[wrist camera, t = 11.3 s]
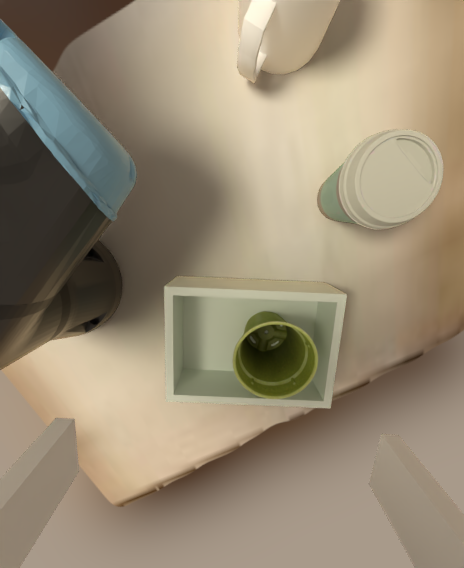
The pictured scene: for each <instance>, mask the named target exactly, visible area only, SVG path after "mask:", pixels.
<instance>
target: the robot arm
mask: <svg viewBox="0 0 464 568" xmlns="http://www.w3.org/2000/svg"><path fill="white" fill-rule="evenodd" d="M136 178H137V171H136V167H135V164H134V161H133V159H132V157H131V156H130V155H129V153H128V152H127V151H126V150H125V149H124V148H123V146H122V145H121V144H120V143H119V142H118V141H117V140H116V139H115V138H114V137H113V135H112V134H111V133H110V132H109V131H108V130H107V129H106V128H105V127H104V126H103V125H102V124H101V123H100V122H99V120H98V119H97V118H96V117H95V116H94V115H93V114H92V113H91V112H90V111H89V110H88V109H87V108H86V107H85V106H84V105H83V104H82V102H81V101H80V100H79V99H78V98H77V97H76V96H75V95H74V94H73V93H72V92H71V91H70V90H69V89H68V88H67V87H66V86H65V85H64V84H63V83H62V82H61V80H60V79H59V78H58V77H57V76H56V75H55V74H54V73H53V72H52V71H51V70H50V69H49V68H48V67H47V66H46V65H45V64H44V63H43V62H42V61H41V60H40V59H39V58H38V57H37V56H36V55H35V54H34V53H33V51H32V50H31V49H30V48H29V47H28V46H27V45H26V44H25V43H24V42H23V41H22V40H20V39H19V37H17V35H16V34H15V33H14V32H13V31H12V30H11V29H10V28H9V27H8V26H7V25H6V24H5V23H4V22H3V21H2V20H1V19H0V370H1V369H3V368H5V367H6V366H8V365H10V364H11V363H13V362H15V361H16V360H18V359H20V358H22V357H23V356H25V355H27V354H28V353H30V352H32V351H33V350H35V349H37V348H38V347H40V346H42V345H43V344H45V343H47V342H48V341H50V340H56V339H62V338H68V337H74V336H79V335H82V334H85V333H88V332H90V331H92V330H94V329H95V328H97V327H98V326H100V325H101V324H103V323H104V322H105V321H107V320H108V319H109V318H110V317H111V316H112V315H113V313H114V312H115V310H116V309H117V307H118V304H119V302H120V298H121V293H122V280H121V274H120V271H119V268H118V265H117V263H116V261H115V259H114V258H113V256H112V255H111V253H110V252H109V251H108V249H107V248H106V247H105V246H104V245H103V244H102V243H101V242H99V241H98V239H99V238H100V236H101V235H102V234H103V232H104V231H105V230H106V228H107V227H108V226H109V224H110V223H111V221H115V220H116V219H117V212H118V210H119V209H120V207H121V206H122V204H123V203H124V201H125V199H126V198H127V196H128V195H129V193H130V192H131V190H132V189H133V187H134V185H135V183H136ZM78 472H79V465H78V454H77V442H76V430H75V419H68V418H55V419H54V421H53V422H52V423H51V424H50V425H49V426H48V427H47V428H46V429H45V430H44V431H43V433H42V434H41V435H40V436H39V437H38V438H37V439H36V440H35V441H34V443H33V444H32V445H31V446H30V447H29V448H28V449H27V450H26V451H25V452H24V453H23V455H22V456H21V457H20V458H19V459H18V460H17V461H16V462H15V463H14V464H13V465H12V467H11V468H10V469H9V470H8V471H7V472H6V473H5V474H4V475H3V476H2V478H1V479H0V568H20V566H21V565H22V563H23V562H24V560H25V558H26V557H27V555H28V553H29V552H30V550H31V548H32V547H33V545H34V544H35V542H36V540H37V539H38V537H39V536H40V534H41V532H42V531H43V529H44V527H45V526H46V524H47V523H48V521H49V519H50V518H51V516H52V514H53V513H54V511H55V510H56V508H57V506H58V504H59V503H60V502H61V500H62V498H63V497H64V495H65V493H66V492H67V490H68V489H69V487H70V485H71V484H72V482H73V480H74V479H75V477H76V476H77V474H78ZM369 485H370V487H371V489H372V491H373V493H374V494H375V496H376V498H377V500H378V502H379V503H380V505H381V507H382V509H383V511H384V513H385V514H386V516H387V518H388V520H389V522H390V524H391V525H392V527H393V529H394V531H395V533H396V534H397V536H398V538H399V540H400V541H401V544H402V545H403V547H404V549H405V551H406V553H407V555H408V556H409V558H410V560H411V562H412V564H413V565H414V567H415V568H464V514H463V513H462V511H461V510H460V509H459V508H458V507H457V505H456V504H455V503H454V502H453V500H452V499H451V498H450V497H449V496H448V494H447V493H446V492H445V491H444V490H443V488H442V487H441V486H440V485H439V483H438V482H437V481H436V480H435V479H434V477H433V476H432V475H431V474H430V473H429V471H428V470H427V469H426V468H425V466H424V465H423V464H422V463H421V462H420V461H419V459H418V458H417V457H416V456H415V454H414V453H413V452H412V451H411V450H410V448H409V447H408V446H407V445H406V443H405V442H404V441H403V440H402V439H401V437H400V436H399V435H389V434H381V438H380V442H379V446H378V450H377V454H376V458H375V462H374V466H373V470H372V474H371V478H370V482H369Z"/></svg>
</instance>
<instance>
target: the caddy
mask: <svg viewBox="0 0 464 568" xmlns="http://www.w3.org/2000/svg"><path fill="white" fill-rule="evenodd" d="M346 299H347V294H346V293H344V292H342V291H340V290H338V289H336V288H334V287H333V286H331V285H329V284H327V283H325V282H308V281H285V280H262V279H239V278H216V277H193V276H177V277H176V278H174V279H173V280H172V281H170V282H169V283H168V284H166V285H165V286H164V320H165V386H166V402H190V403H213V404H237V405H261V406H284V407H308V408H331V402H332V395H333V388H334V381H335V374H336V368H337V361H338V354H339V347H340V340H341V333H342V326H343V320H344V313H345V306H346ZM264 311H267V312H273V313H276V314H278V315H279V316H281V317H282V318H283V319H284V320H285V321H286V322H287V323H291V324H293V325H295V326H298V327H299V328H301V329H302V330H304V331H305V332H306V333H307V334H308V335H309V336H310V338H311V339H312V340H313V342H314V344H315V346H316V349H317V352H318V366H317V370H316V373H315V375H314V377H313V379H312V380H311V382H310V383H309V384H308V385H307V386H306V387H305V388H304V389H303V390H302V391H300V392H299V393H297V394H295V395H293V396H290V397H287V398H283V399H267V398H263V397H259V396H257V395H255V394H253V393H251V392H249V391H248V390H247V389H246V388H244V387H243V386H242V384H241V383H240V382H239V381H238V379H237V377H236V375H235V373H234V369H233V361H232V360H233V353H234V349H235V347H236V344H237V343H238V341H239V339H240V338H241V337H242V336H243V334H244V330H245V326H246V324H247V322H248V320H249V319H250V318H251V317H252V316H253V315H255V314H257V313H259V312H264ZM280 326H281V327H282V325H280ZM267 333H268V331H267V330H266V331H265V334H267ZM250 339H251V341H252V342H253V343H256V342H255V341H254V340H253V338H252V336H250ZM277 343H279V341H277V342H276V343H273V344H272V345H271V346H274V345H276V344H277Z"/></svg>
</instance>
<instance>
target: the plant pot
mask: <svg viewBox="0 0 464 568" xmlns="http://www.w3.org/2000/svg"><path fill="white" fill-rule="evenodd" d="M280 325H282V327H281V326H280ZM266 330H267V331H268V333H267V334H265V331H266ZM250 336H252V338H253V340H254V341H255V342H256V343H253V342H252V341H251V339H250ZM277 341H279V343H277V344H276V345H274V346H271V345H272V344H273V343H276V342H277ZM232 361H233V369H234V373H235V375H236V377H237V379H238V381H239V382H240V383H241V384H242V386H243V387H244V388H246V389H247V390H248V391H249V392H251V393H253V394H255V395H257V396H259V397H263V398H267V399H283V398H287V397H290V396H293V395H295V394H297V393H299V392H300V391H302V390H303V389H304V388H305V387H306V386H307V385H308V384H309V383H310V382H311V380H312V379H313V377H314V375H315V373H316V370H317V366H318V352H317V349H316V346H315V344H314V342H313V340H312V339H311V338H310V336H309V335H308V334H307V333H306V332H305V331H304V330H302V329H301V328H299V327H298V326H295V325H293V324H291V323H287V322H286V321H285V320H284V319H283V318H282V317H281V316H279V315H278V314H276V313H273V312H267V311H264V312H259V313H257V314H255V315H253V316H252V317H251V318H250V319H249V320H248V322H247V324H246V326H245V330H244V334H243V336H242V337H241V338H240V339H239V341H238V343H237V344H236V347H235V349H234V353H233V360H232Z"/></svg>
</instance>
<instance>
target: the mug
mask: <svg viewBox="0 0 464 568" xmlns="http://www.w3.org/2000/svg"><path fill="white" fill-rule="evenodd" d="M339 2H340V0H239V7H238V34H239V38H240V41H239V46H238V55H237V69H238V71H239V74H240V75H241V76H243V77H245V78H246V79H248V80H250V81H251V82H253V83H255V81H256V79H257V77H258V75H259V72H260V70H263V71H265V72H268V73H270V74H288V73H291V72H294V71H297V70H299V69H300V68H301V67H303V66H304V65H305V64H306V63H308V62H309V61H310V60H311V58H312V57H313V55H314V54H315V52H316V51H317V50H318V48H319V46H320V44H321V41H322V39H323V37H324V35H325V33H326V31H327V28H328V26H329V24H330V22H331V20H332V18H333V15H334V13H335V11H336V9H337V7H338V5H339Z"/></svg>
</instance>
